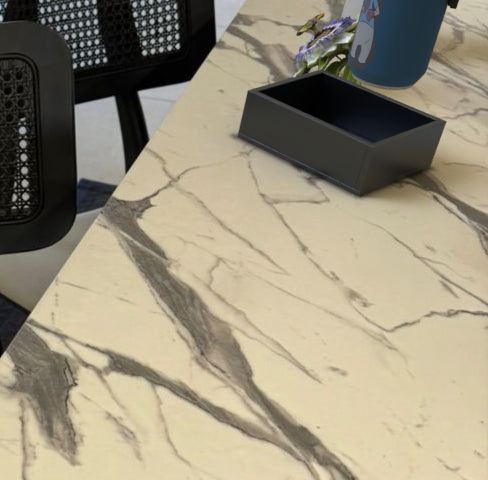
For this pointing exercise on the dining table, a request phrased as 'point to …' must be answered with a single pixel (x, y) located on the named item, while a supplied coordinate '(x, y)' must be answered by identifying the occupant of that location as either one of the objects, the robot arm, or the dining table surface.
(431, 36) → the soda can
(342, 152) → the dark grey open box
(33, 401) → the dining table surface
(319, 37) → the passion flower
